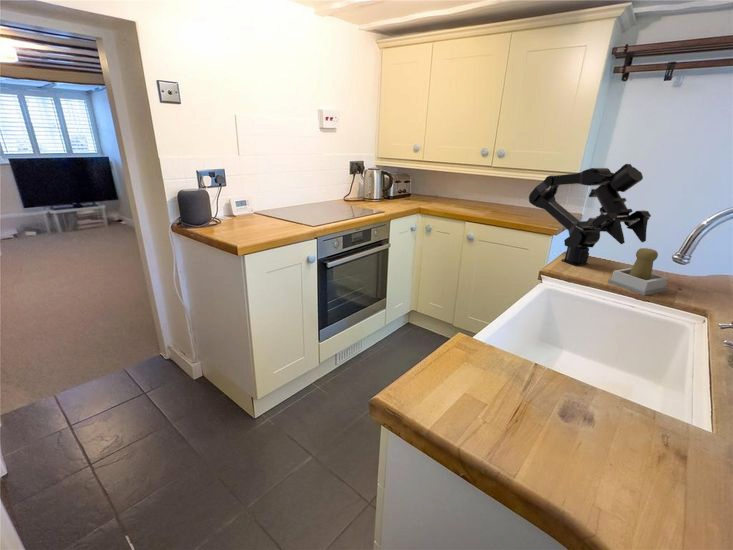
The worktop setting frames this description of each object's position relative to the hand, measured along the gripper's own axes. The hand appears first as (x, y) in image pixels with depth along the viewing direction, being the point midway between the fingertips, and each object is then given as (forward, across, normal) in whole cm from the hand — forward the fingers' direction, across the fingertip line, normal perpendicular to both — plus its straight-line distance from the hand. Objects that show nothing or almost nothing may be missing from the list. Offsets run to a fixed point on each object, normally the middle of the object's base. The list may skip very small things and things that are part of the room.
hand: (633, 242), depth 110 cm
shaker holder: (+12, 0, -6) cm, 14 cm away
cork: (+12, 0, -5) cm, 13 cm away
